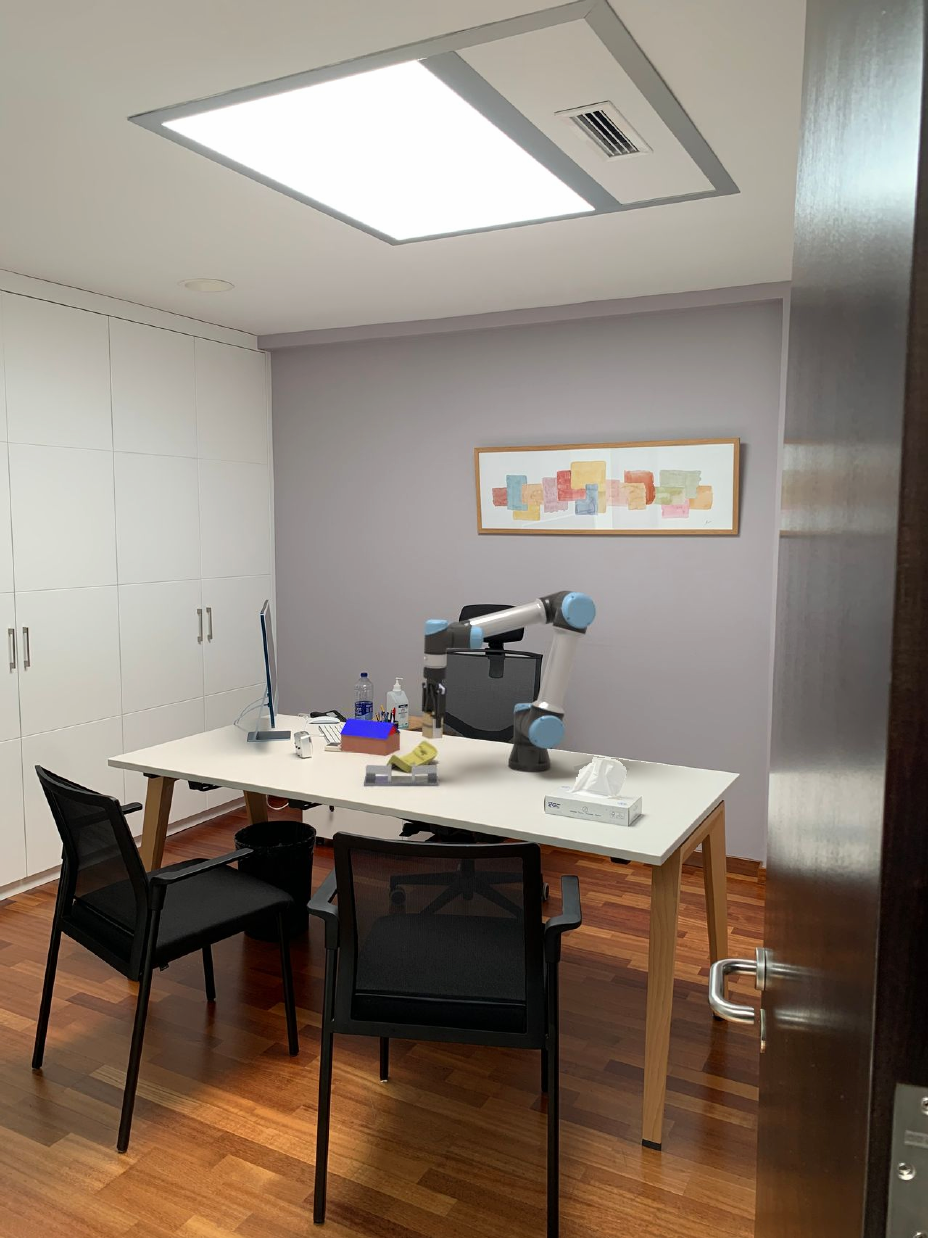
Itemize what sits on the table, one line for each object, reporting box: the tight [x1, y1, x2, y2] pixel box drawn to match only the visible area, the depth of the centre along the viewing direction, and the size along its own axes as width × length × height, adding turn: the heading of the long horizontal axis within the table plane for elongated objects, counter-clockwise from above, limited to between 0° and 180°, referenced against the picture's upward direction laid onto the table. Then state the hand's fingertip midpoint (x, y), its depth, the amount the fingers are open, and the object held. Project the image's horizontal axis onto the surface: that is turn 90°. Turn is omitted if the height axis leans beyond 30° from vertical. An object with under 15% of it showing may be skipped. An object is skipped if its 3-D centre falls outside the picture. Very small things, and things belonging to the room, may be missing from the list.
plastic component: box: [385, 740, 439, 774], centre depth 326 cm, size 20×7×10 cm
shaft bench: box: [363, 764, 439, 787], centre depth 303 cm, size 24×9×6 cm, turn 93°
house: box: [339, 718, 401, 757], centre depth 349 cm, size 12×20×12 cm, turn 66°
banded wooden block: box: [421, 711, 444, 740], centre depth 303 cm, size 5×5×8 cm
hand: (432, 735), depth 303 cm, fingers closed on banded wooden block, 5 cm apart
